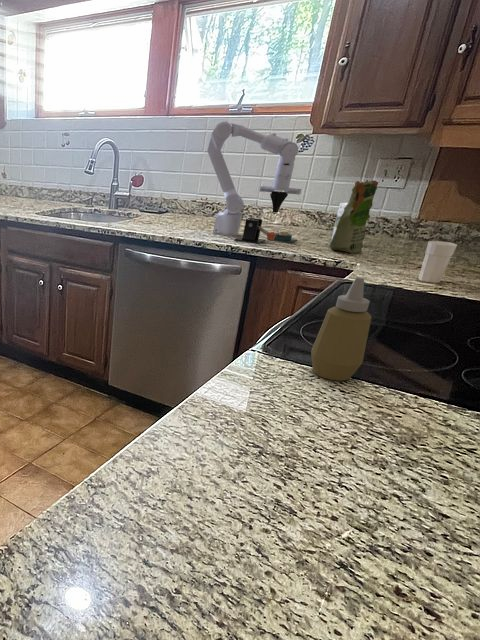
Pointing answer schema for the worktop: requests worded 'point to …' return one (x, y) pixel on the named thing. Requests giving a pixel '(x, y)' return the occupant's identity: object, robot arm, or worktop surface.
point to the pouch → (354, 218)
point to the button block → (283, 238)
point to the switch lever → (267, 233)
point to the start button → (283, 232)
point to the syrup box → (338, 216)
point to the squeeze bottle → (343, 336)
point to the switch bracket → (251, 232)
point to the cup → (436, 260)
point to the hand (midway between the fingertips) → (275, 212)
